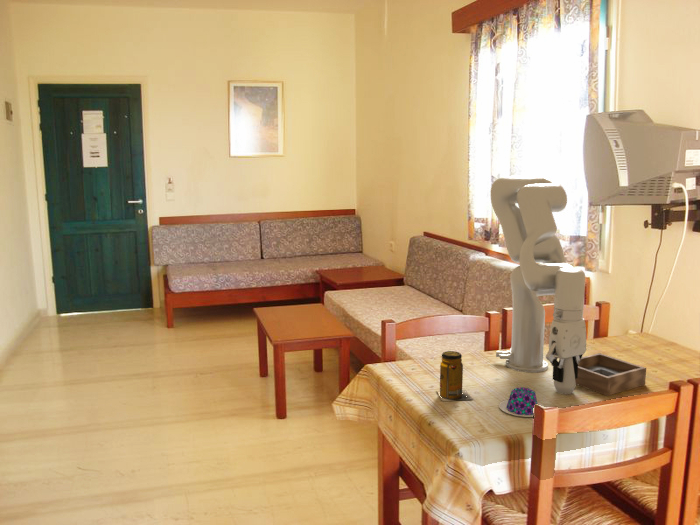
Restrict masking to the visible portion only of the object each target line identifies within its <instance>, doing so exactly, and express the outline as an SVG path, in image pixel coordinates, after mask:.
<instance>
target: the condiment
mask: <svg viewBox="0 0 700 525" xmlns="http://www.w3.org/2000/svg"><path fill="white" fill-rule="evenodd" d="M462 357H463V356H462V353H461V352H459V351H453V350H448V351H444V352H442V353H441V362H440V366H439V368H440V369H439V370H440V372H439V374H440V375H439V391H440V396H441V397H442V398H441V397H439V399H440V400H441V401H442V402H453V401H454V402H456V401H460V400H461V401H467V400H474V398H472V396H471V394H469V392H468V390H466V389H463V382H464V381H463V376H464V368H463V367H464V365H463V362H462V360H463V359H462ZM465 391H466V392H465ZM462 393H463V394H462ZM466 396H467V397H466Z"/></svg>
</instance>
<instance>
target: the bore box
mask: <svg viewBox="0 0 700 525" xmlns="http://www.w3.org/2000/svg"><path fill="white" fill-rule="evenodd" d="M646 374H647V367H645V366H641V365H639V364H635V363H632V362H628V361H625V360H622V359H619V358H615V357H613V356H610V355H606V354H604V353H600V352H598V353H594V354H590V355H586V356H582V358H581V359H580V363H579V364H578V377H577V378H576V379H575V381H576V386H577V385H578V386H580V387H582V388H586V389H587V390H590V389H591V391H593V390H594V391H593V392H596V391H597V392H596V393H598V392H599V394H601V393H602V394H601V395H603V396H606V397H607V396H611V395H615V394H618V393H621V392H625V391H629V390H631V389H636V388H639V387H642V386H645V385H646V378H647V376H646Z"/></svg>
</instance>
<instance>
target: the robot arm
mask: <svg viewBox="0 0 700 525" xmlns="http://www.w3.org/2000/svg"><path fill="white" fill-rule="evenodd" d="M490 203H491V206H492V209H493V211H494V212H493V213H494V214H495V216H496V218H497V219H498V221H499V224H500V226H501V229H502V230H501V231H502V234H503V238H504V242H505V245H506V250H507V253H508V256H509V258H510V259H511V261H512V262H514V263H517V264H519V265H518V266H516V267H515V268H513V270H512V271H511V274H510V276H509V277H510V278H509V280H510V288H511V295H512V298H511V299H512V317H511V318H512V319H511V320H512V321H511V322H512V323H511V346H510V349H509V350H506V351H503V350H495V351H496V352H495V357H496V358H499V359H501V360H504V359H505V366H506V367H507V368H509V369H511V370H514V371H518V372H523V373H540V372H541V373H542V372H544V371H546V370H548V368H549V363H550V364H551V366H552V380H553V381H554V380H555V381H558V382H563V374H564V368H562V365H563V361H564V359H566V358H570V357H572V358H573V366H574V373H575V379H576V378H577V377H578V364H579V363H580V359H581V358H582V357H583V355H585V353H586V351H587V328H586V327H587V326H586V321H585V318H584V304H585V303H584V302H585V289H586V288H585V284H586V275H585V274H586V273H585V272H584V270H582V269H580V268H575V267H574V266H573V265H571V264H569V263H567V261H566V257H565V254H564V251H563V247H562V244H561V241H560V239H559V238H558V236H557V235H556V233H557V231H558V228H557V226H558V225H557V223H556V221H555V218H554V215H553V213H559V212H562V211H564V210H565V208H566V206H567V203H568V195H567V193H566V190H565V188H564V187H563V186H562V185H561V184H560V183H558V182H556V181H554V180H553V179H550V178H548V177H546V176H543V175H511V176H503V177H499V178H497V179H495V180H494V181H493V182H492V185H491V187H490ZM516 204H517V205H518V206H517V205H516ZM541 296H554V299H553V300H554V302H553V304H554V305H553V313H552V316H553V319H552V322H551V326H550V330H549V331H550V333H549V338H548V339H549V340H548V350H547V353H546V355H545V359H546V360H547V361H546V360H545V359H544V345H545V343H544V342H545V326H546V325H545V324H546V310H545V307H544V305H543V304H542V302H541V301H540V299H539V297H541ZM548 362H549V363H548Z"/></svg>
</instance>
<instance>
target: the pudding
mask: <svg viewBox="0 0 700 525" xmlns="http://www.w3.org/2000/svg"><path fill="white" fill-rule="evenodd" d="M535 404H538V405H541V406H544V407H546V405H544V404H543V403H540V402H538V400H537V395H536V391H535V390H533V389H531V388H529V387H523V386H522V387H515V388H513V389H512V390H511V391H510V394H509V397H508V399H505V400H502V401H500V403H499V404H498V408H499V409H500V410H501V411H503V413H507V414H509V415H513V416H515V417H516V416H517V417H525V418H526V417H527V418H528V417H529V418H531V417H532V418H533V415H534V414H533V408H534V405H535Z"/></svg>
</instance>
